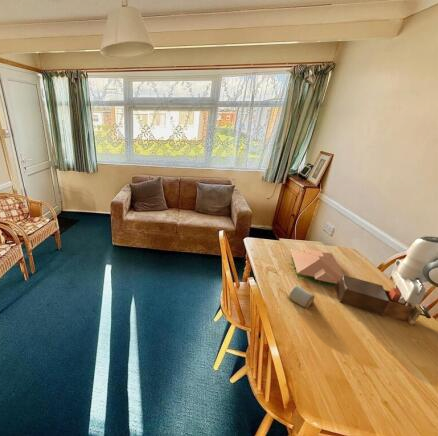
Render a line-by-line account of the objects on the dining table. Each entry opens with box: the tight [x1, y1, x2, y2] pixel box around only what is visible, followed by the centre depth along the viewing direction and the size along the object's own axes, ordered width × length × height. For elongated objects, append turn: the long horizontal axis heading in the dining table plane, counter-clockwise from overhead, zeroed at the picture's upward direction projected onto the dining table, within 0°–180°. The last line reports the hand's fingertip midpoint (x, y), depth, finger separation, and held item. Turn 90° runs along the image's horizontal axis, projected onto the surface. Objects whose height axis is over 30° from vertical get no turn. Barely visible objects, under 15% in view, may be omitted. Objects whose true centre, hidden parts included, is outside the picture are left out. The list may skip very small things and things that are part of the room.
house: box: [290, 247, 345, 288], centre depth 131 cm, size 23×33×8 cm
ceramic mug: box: [288, 284, 315, 309], centre depth 108 cm, size 11×8×8 cm
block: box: [388, 287, 407, 305], centre depth 99 cm, size 4×4×4 cm
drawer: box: [382, 289, 432, 325], centre depth 100 cm, size 18×10×8 cm, turn 58°
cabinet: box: [335, 274, 390, 316], centre depth 107 cm, size 15×12×10 cm
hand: (398, 297), depth 99 cm, fingers closed on block, 4 cm apart
